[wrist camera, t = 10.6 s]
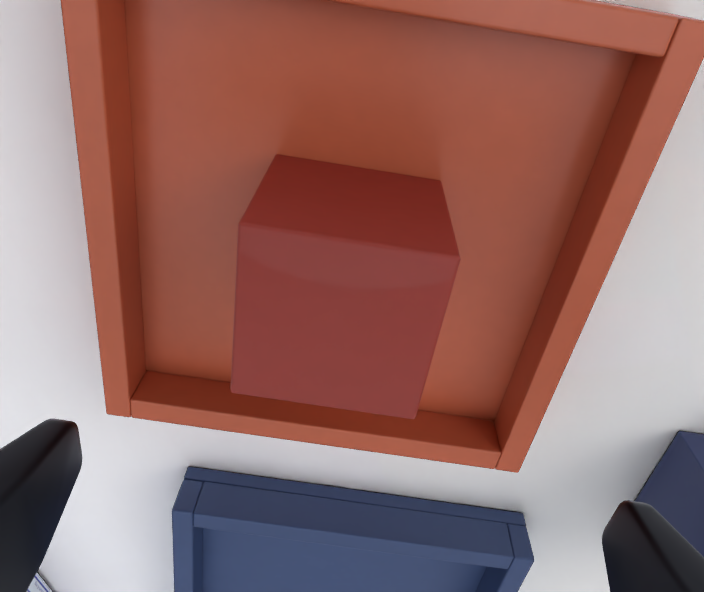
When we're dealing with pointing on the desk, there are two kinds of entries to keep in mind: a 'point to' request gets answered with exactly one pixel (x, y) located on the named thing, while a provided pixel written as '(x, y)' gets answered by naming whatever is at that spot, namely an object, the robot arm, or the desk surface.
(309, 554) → the blue tray
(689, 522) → the blue block
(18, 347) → the desk surface
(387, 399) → the red block
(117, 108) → the red tray
